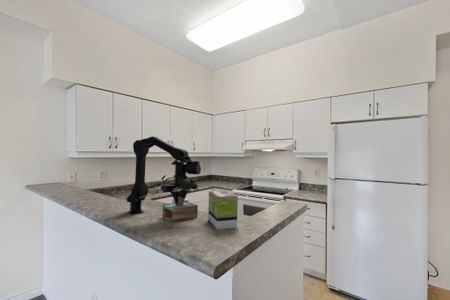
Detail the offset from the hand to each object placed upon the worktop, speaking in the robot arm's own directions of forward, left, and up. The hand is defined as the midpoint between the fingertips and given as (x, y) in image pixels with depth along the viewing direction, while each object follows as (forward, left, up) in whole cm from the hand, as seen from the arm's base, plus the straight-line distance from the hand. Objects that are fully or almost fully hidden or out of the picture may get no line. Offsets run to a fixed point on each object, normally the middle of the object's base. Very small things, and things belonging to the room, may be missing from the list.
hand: (179, 203), depth 106 cm
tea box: (+21, +11, -7) cm, 25 cm away
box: (0, +1, -7) cm, 7 cm away
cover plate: (0, 0, -2) cm, 2 cm away
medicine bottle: (-10, +7, -7) cm, 14 cm away
